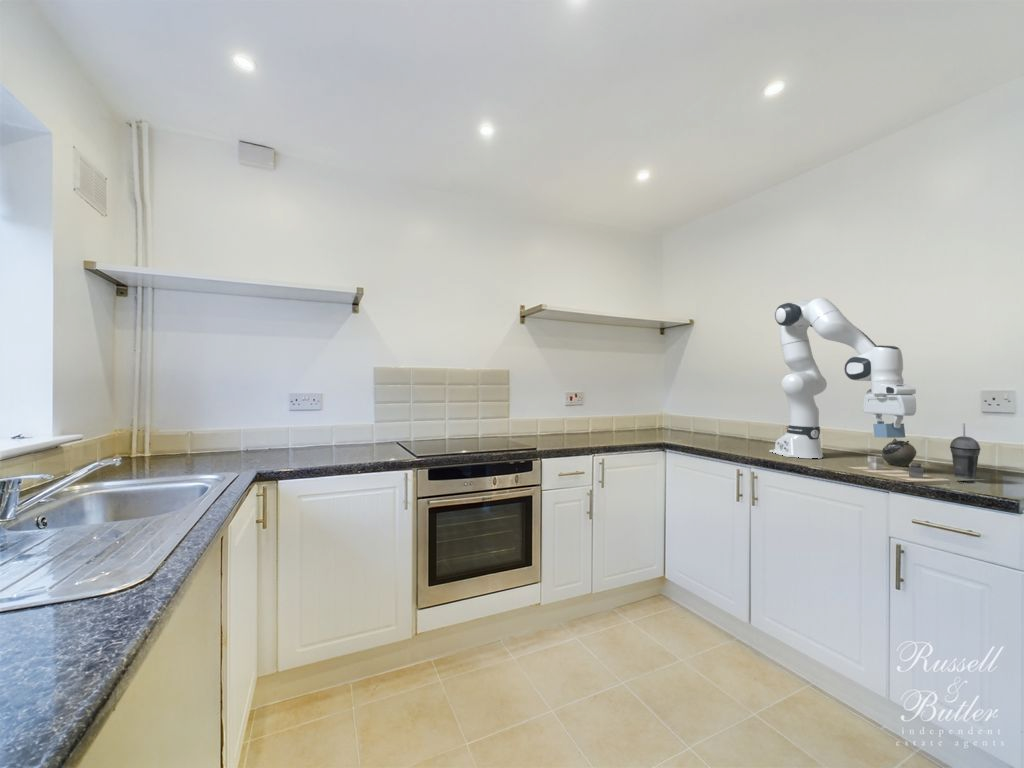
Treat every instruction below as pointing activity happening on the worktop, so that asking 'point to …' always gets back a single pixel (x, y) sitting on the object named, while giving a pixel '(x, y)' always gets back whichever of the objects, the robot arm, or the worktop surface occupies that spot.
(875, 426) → the collar
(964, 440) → the beverage cup
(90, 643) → the worktop surface
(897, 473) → the assembly board
